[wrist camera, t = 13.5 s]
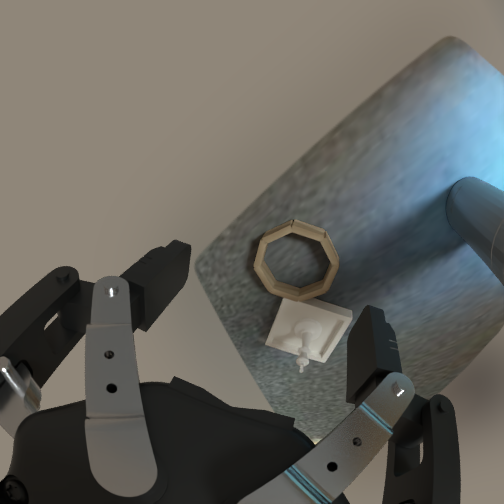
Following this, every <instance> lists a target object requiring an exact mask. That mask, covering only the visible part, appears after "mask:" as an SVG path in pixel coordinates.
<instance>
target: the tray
mask: <svg viewBox="0 0 504 504" xmlns="http://www.w3.org/2000/svg"><path fill="white" fill-rule="evenodd" d="M304 318H310V319H314V320H316V321H318V322H319V323H320V325H321V327H322V331H321V334H320V336H319V337H318V338H317V339H315V340H312V341H310V343H309V346H308V348H310V349H311V353H310V354H309V355H308V358H309V359H313V360H316V361H320V362H323V363H325V362H326V360H327V359H328V357H329V356H330V354H331V353H332V351H333V349H334V348H335V346H336V345H337V343H338V342H339V340H340V339H341V337H342V335H343V334H344V332H345V330H346V329H347V327H348V326H349V324H350V322H351V321H352V319H353V316H352V310H349V309H346V308H343V307H340V306H337V305H333V304H330V303H327V302H324V301H321V300H318V299H315V298H310V299H307V300H305V301H302V302H299V300H298V302H295V301H292V300H289V299H286V298H283V299H282V301H281V304H280V307H279V309H278V312H277V314H276V317H275V319H274V322H273V325H272V327H271V330H270V332H269V335H268V337H267V340H266V343H265V345H268V346H271V347H274V348H277V349H280V350H283V351H286V352H289V353H293V354H296V355H300V354H299V353H298V349H299V348H300V347H302V340H301V339H299V338H298V337H297V336H296V335H295V333H294V326H295V324H296V322H297V321H299V320H301V319H304Z"/></svg>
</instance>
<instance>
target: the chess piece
mask: <svg viewBox="0 0 504 504" xmlns="http://www.w3.org/2000/svg"><path fill="white" fill-rule="evenodd" d="M321 331H322V327H321V325H320V323H319V322H318V321H316V320H314V319H310V318H304V319H301V320H299V321H297V322H296V324H295V326H294V333H295V335H296V336H297V337H298V338H299V339H301V340H302V347H300V348H299V349H298V353H299V354H300V355H299V357H298V358H297V360H296V363H297V364H298V365H300V373H302V372H303V366H306V365H308V364H309V359H308V355H309V354H310V353H311V349H310V348H308V346H309V343H310V341H312V340H315V339H317V338H318V337H319V336H320V334H321Z"/></svg>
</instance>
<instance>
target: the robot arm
mask: <svg viewBox="0 0 504 504" xmlns="http://www.w3.org/2000/svg"><path fill="white" fill-rule="evenodd" d="M446 213H447V218H448V221H449V223H450V225H451V226H452V228H453V229H454V230H455V231H456V232H457V233H458V234H459V235H460V236H461V237H462V238H463V239H464V240H465V241H466V243H467V244H468V245H469V246H470V247H471V248H472V249H473V250H474V251H475V252H476V253H477V254H478V256H479V257H480V258H481V259H482V260H483V261H484V262H485V264H486V265H487V266H488V267H489V268H490V270H491V271H492V272H493V273H494V274H495V276H496V277H497V278H498V279H499V280H500V282H501V283H502V284H503V286H504V191H502V190H500V189H498V188H496V187H494V186H492V185H491V184H489V183H487V182H485V181H482V180H480V179H478V178H475V177H466V178H463V179H461V180H459V181H458V182H457V183H456V184H455V185H454V186H453V188H452V189H451V191H450V193H449V196H448V199H447V205H446ZM190 256H191V245H189V244H186V243H183V242H181V241H178V240H173V241H172V242H171V243H170V244H169V245H167V246H166V247H162V246H161V247H158V248H155V249H152V250H151V251H149V252H148V253H147V254H146V255H144V257H142V258H141V259H140V260H139V261H138V262H136V263H135V264H133V265H132V266H131V267H130V268H129V269H127V270H126V271H125V272H124V273H123V274H122V275H120V276H119V277H117V276H107V277H103V278H101V279H99V280H98V281H97V282H96V283H91V282H87V281H82V280H80V279H79V274H78V271H77V270H76V269H75V268H73V267H69V266H63V267H58V268H56V269H54V270H53V271H51V272H50V273H49V274H47V275H46V276H45V277H44V278H43V279H41V280H40V281H39V282H38V283H37V284H35V285H34V286H33V287H32V288H31V289H29V290H28V291H27V292H26V293H25V294H24V295H23V296H21V297H20V298H19V299H18V300H17V301H16V302H15V303H14V304H13V305H12V306H10V307H9V308H8V309H7V310H6V311H5V312H4V313H3V314H2V315H1V316H0V425H1V426H2V427H3V429H5V430H6V432H7V433H8V434H9V435H10V436H12V437H13V438H14V446H13V456H12V461H11V465H10V468H9V471H8V474H7V475H6V476H5V478H4V479H3V480H2V481H1V482H0V504H350V503H349V502H348V500H347V498H346V497H345V495H344V494H343V491H344V490H345V489H346V488H347V487H348V486H349V485H350V484H351V483H352V482H353V481H354V480H355V478H356V477H357V476H358V475H359V474H360V473H361V472H362V471H363V470H364V469H365V468H366V466H367V465H368V464H369V463H370V462H371V461H372V459H373V458H374V457H375V456H376V455H377V453H378V452H379V451H380V449H382V447H383V446H384V445H385V444H386V442H387V441H388V457H387V469H386V479H385V487H384V495H383V501H382V504H460V492H461V489H460V488H461V483H460V481H461V478H460V455H459V443H458V434H457V425H456V418H455V411H454V407H453V405H452V403H451V401H450V400H449V399H448V398H447V397H445V396H443V395H440V394H437V395H434V396H433V397H432V398H431V399H430V400H427V399H425V398H423V397H421V396H419V395H417V394H415V389H414V386H413V383H412V382H411V380H410V379H409V378H408V377H407V376H405V375H404V374H402V368H401V362H400V357H399V351H398V346H397V343H396V342H397V341H396V336H395V332H394V330H393V329H392V327H391V325H390V324H389V323H386V321H385V316H384V311H383V310H382V309H379V308H376V307H373V306H370V305H367V306H366V307H365V308H364V309H363V311H362V313H361V314H360V316H359V318H358V319H357V321H356V323H355V324H354V326H353V328H352V329H351V331H350V334H349V336H348V341H347V392H346V402H347V403H352V404H355V409H354V410H353V411H352V412H351V413H350V414H349V415H348V416H347V417H346V418H345V419H344V420H343V421H342V422H341V423H340V424H339V425H337V426H336V427H335V428H334V429H333V430H332V431H331V432H330V433H329V434H327V435H326V436H325V437H324V438H323V439H322V440H320V441H319V442H318V443H317V444H316V445H315V444H314V443H313V442H312V441H311V440H310V439H309V437H307V436H306V435H305V434H304V433H303V432H301V431H299V430H298V429H296V428H294V427H293V425H294V421H295V418H292V417H288V416H284V415H280V414H277V413H273V412H270V411H266V410H257V409H246V408H237V407H232V406H229V405H228V404H226V403H224V402H223V401H221V400H220V399H218V398H217V397H215V396H213V395H212V394H211V393H209V392H207V391H206V390H205V389H203V388H201V387H198V386H196V385H194V384H191V383H189V382H187V381H184V380H182V379H180V378H177V377H175V376H174V377H173V379H172V381H171V382H170V383H165V382H144V383H140V380H139V375H138V368H137V361H136V354H135V345H134V336H133V333H134V331H135V330H136V329H137V328H139V329H141V330H143V331H145V332H147V330H148V329H149V328H150V327H151V325H152V324H153V323H154V322H155V320H156V319H157V318H158V317H159V315H160V314H161V313H162V312H163V311H164V309H165V308H166V307H167V306H168V304H169V303H170V302H171V301H172V300H173V298H174V297H175V296H176V295H177V294H178V292H179V291H180V290H181V289H182V288H183V286H184V285H185V283H186V280H187V277H188V272H189V264H190ZM56 313H57V314H58V317H57V318H56V319H55V320H54V321H53V322H52V323H51V324H50V325H49V326H48V327H47V328H46V329H45V330H44V327H45V325H46V323H47V322H48V321H49V320H50V319H51V318H52V317H53V316H54V315H55V314H56ZM85 333H86V341H85V395H86V400H82V401H79V402H75V403H71V404H67V405H63V406H59V407H55V408H51V409H46V410H41V411H38V410H39V409H40V401H41V390H40V389H41V388H42V386H43V385H44V384H45V383H46V381H47V380H48V379H49V377H50V376H51V375H52V374H53V372H54V371H55V370H56V368H57V367H58V366H59V365H60V363H61V362H62V361H63V360H64V358H65V357H66V356H67V355H68V354H69V352H70V351H71V350H72V349H73V347H74V346H75V345H76V344H77V343H78V341H79V340H80V339H81V338H82V337H83V336H84V335H85ZM422 442H423V460H422V462H421V464H420V443H422Z"/></svg>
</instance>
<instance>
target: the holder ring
mask: <svg viewBox="0 0 504 504" xmlns="http://www.w3.org/2000/svg"><path fill="white" fill-rule="evenodd" d="M291 232H293V233H296V234H299V235H302V236H305V237H308V238H311V239H314V240H317V241H320V242H321V244H322V246H323V248H324V250H325V252H326V254H327V256H328V258H329V260H330V264H329V267H328V269H327V271H326V274H325V276H324V278H323V280H321V281H318V282H315V283H313V284H310V285H307V286H305V287H302V288H298V287H295V286H292V285H289V284H286V283H283V282H280V281H277V280H276V279H275V278H274V276H273V274H272V273H271V271H270V269H269V268H268V266H267V265H266V263H265V261H264V256H265V253H266V249H267V246H268V243H269V242H271V241H274V240H276V239H278V238H280V237H282V236H285V235H287V234H289V233H291ZM338 268H339V256H338V254H337V252H336V250H335V248H334V246H333V244H332V241H331V239H330V237H329V235H328V233H327V231H324V229H322V228H319V227H316V226H313V225H310V224H307V223H304V222H301V221H298V220H295V219H294V222H293V220H290V221H288V222H286V223H283V224H281V225H279V226H277V227H275V228H273V229H271V230H269V231H267V232H265V234H264V235H263V237H262V238H261V240H260V244H259V247H258V251H257V255H256V258H255V262H254V270H255V271H256V273H257V274H258V276H259V278H260V279H261V281H262V282H263V284H264V286H265V287H266V289H267V290H268V292H269V291H271V292H270V293H272V294H275V295H277V296H280V297H283V298H286V299H289V300H292V301H295V302H298V300H299V302H302V301H305V300H307V299H310V298H313V297H316V296H319V295H321V294H324V293H326V291H328V290H329V288H330V286H331V284H332V281H333V279H334V277H335V275H336V273H337V271H338Z"/></svg>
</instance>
